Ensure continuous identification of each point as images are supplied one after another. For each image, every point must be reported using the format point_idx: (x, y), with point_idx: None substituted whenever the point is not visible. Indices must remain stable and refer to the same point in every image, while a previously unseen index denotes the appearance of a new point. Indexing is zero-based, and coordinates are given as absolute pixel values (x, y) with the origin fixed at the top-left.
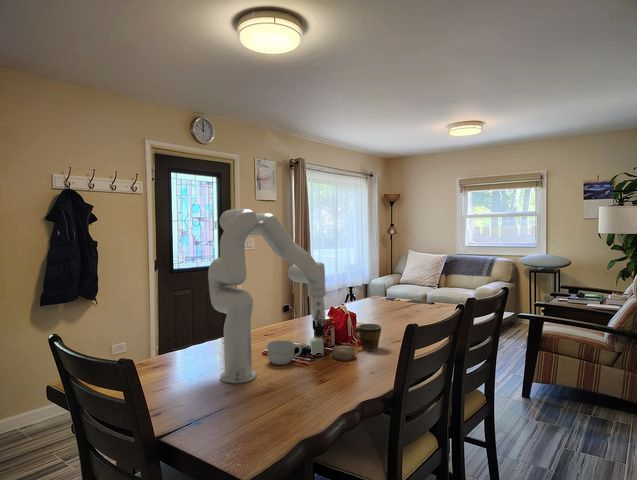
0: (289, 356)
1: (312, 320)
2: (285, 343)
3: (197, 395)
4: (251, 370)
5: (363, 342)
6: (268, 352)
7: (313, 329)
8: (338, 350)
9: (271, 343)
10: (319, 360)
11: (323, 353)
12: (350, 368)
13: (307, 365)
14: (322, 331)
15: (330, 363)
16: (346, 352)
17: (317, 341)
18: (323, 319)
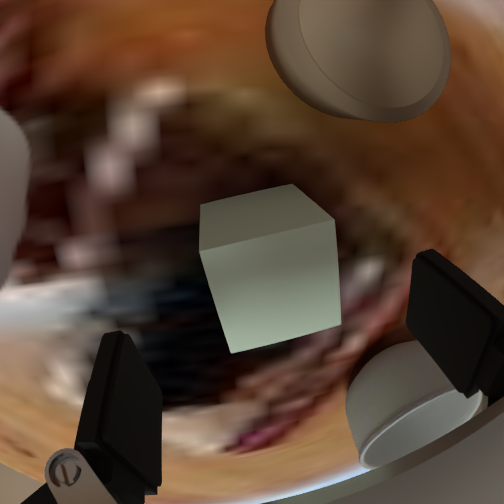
0: None
1: (145, 494)
2: (369, 430)
3: None
4: (482, 394)
5: None
6: (420, 427)
7: (160, 391)
8: (429, 79)
9: (378, 461)
10: (397, 205)
11: (295, 188)
12: (494, 56)
13: (449, 259)
14: (460, 278)
15: (445, 140)
16: (444, 31)
17: (337, 276)
18: (485, 411)
